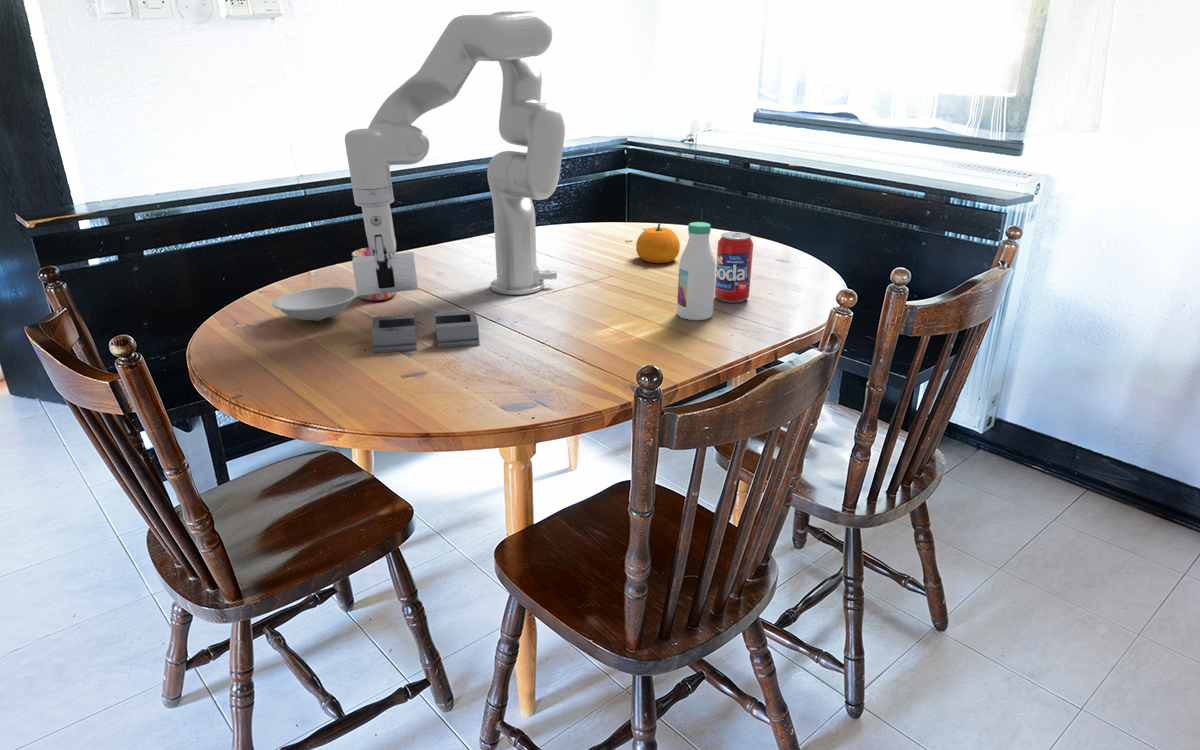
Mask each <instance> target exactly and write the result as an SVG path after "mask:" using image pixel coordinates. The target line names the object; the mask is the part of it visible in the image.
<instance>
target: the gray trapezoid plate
mask: <svg viewBox="0 0 1200 750" xmlns="http://www.w3.org/2000/svg"><path fill="white" fill-rule="evenodd" d="M385 258H386V259H387V257H385ZM389 258H390V265H391V268H392V269H393V276H394V283H395V287H392V288H382V289H380V288H379V287H378V280H377V274H376V269H377V268H376V261H375V256H364V257H353V256H352V262H351V263H352V269H353V274H354V281H355V289H356V290H357V294H358V296H357V297H360V296H359V295H369V294H380V293H390V292H397V293H401V292H408V291H418V290H419V288H418V287H419V286H418V279H417V278H418V277H417V270H416V262H415V255H414V252H413V251H411V252H400V253H395V254H389Z"/></svg>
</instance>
